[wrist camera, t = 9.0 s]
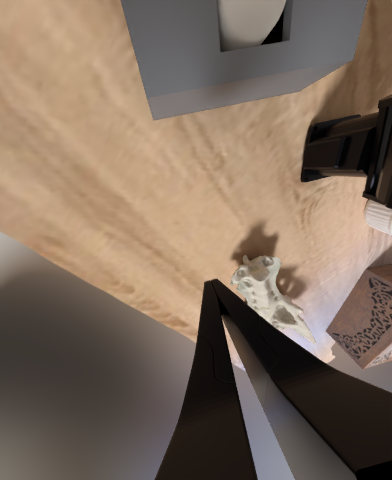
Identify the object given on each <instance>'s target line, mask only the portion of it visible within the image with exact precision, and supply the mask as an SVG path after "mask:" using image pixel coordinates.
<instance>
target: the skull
mask: <svg viewBox="0 0 392 480" xmlns="http://www.w3.org/2000/svg"><path fill="white" fill-rule="evenodd" d="M242 259H243V263H244V265H240V266H239V268H238V269H237V270H236V271H235V273H234V274H233V275H232V277H231V286H233V282H234V284H235V285H236V284H238V283H239V284H238V287H237V289H236V290H237V291H238V292H240V293H241V294H242V295H243V296H244V297H245V298H246V300H247V302H248V303H247V305H249V306H250V307H251V308H252V309H253V310H255V311H256V312H257V313H258V314H259V316H262V317H263V318H264V319H265V320H266V321H268V322H269V323H270V324H271V325H273V326H274V327H275V328H276V329H284V328H287V327H291V328H293V329H294V330H296V331H297V332H298V333H299V334H300V335H301V336H303V337H304V338H306V339H307V340H309V341H310V342H312V343H313V344H314V345H316V341H315V339H314V337H313V336H312V334H311V331H310V330H309V328H308V326H307V325H306V323H305V322H304V320H303V319H302V318H300V316H299V313H303V314H304V312H303V309H302V308H300V307H298V306H297V305H295V304H294V303H292V302H291V298H289V297H288V296H287V295H282V294H281V293H280V292H279V290H278V289H277V287H276V276H277V274H278V271H279V268H280V265H281V262H280V260H279V258H277V257H270V256H268V257H267V256H266V255H264V256H259V257H258V258H254V259H252V260H251V261H249V260H248V257H247V255H244V256H243V258H242ZM294 318H295V319H294ZM295 320H296V321H295Z"/></svg>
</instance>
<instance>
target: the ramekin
mask: <svg viewBox="0 0 392 480" xmlns="http://www.w3.org/2000/svg"><path fill="white" fill-rule="evenodd" d="M364 219H365V221H366V223H367V224H368V225H369V226H371V227H373V228H375V229H377V230H380V231H382V232H384V233H387V234H389V235H391V236H392V209H389V208H387V207H385V205H382V204H380V203H377V202H375V201H372V200H370V199H369V200H368V202H367V204H366V207H365V210H364Z"/></svg>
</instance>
